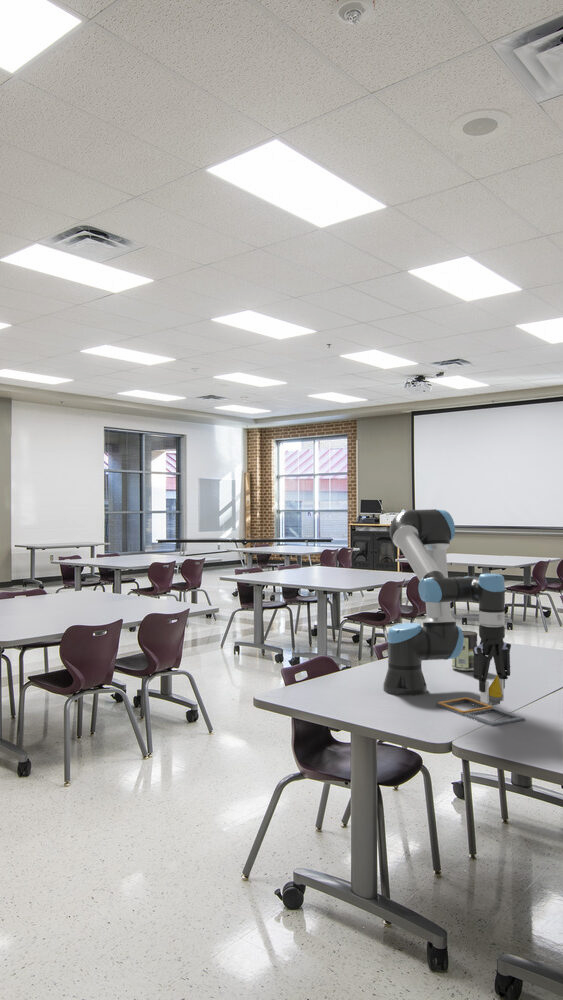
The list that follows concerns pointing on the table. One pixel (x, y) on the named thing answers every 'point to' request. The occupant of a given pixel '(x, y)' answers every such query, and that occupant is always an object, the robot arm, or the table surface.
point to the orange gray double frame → (478, 711)
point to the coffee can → (466, 652)
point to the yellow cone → (495, 692)
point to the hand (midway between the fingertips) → (492, 700)
